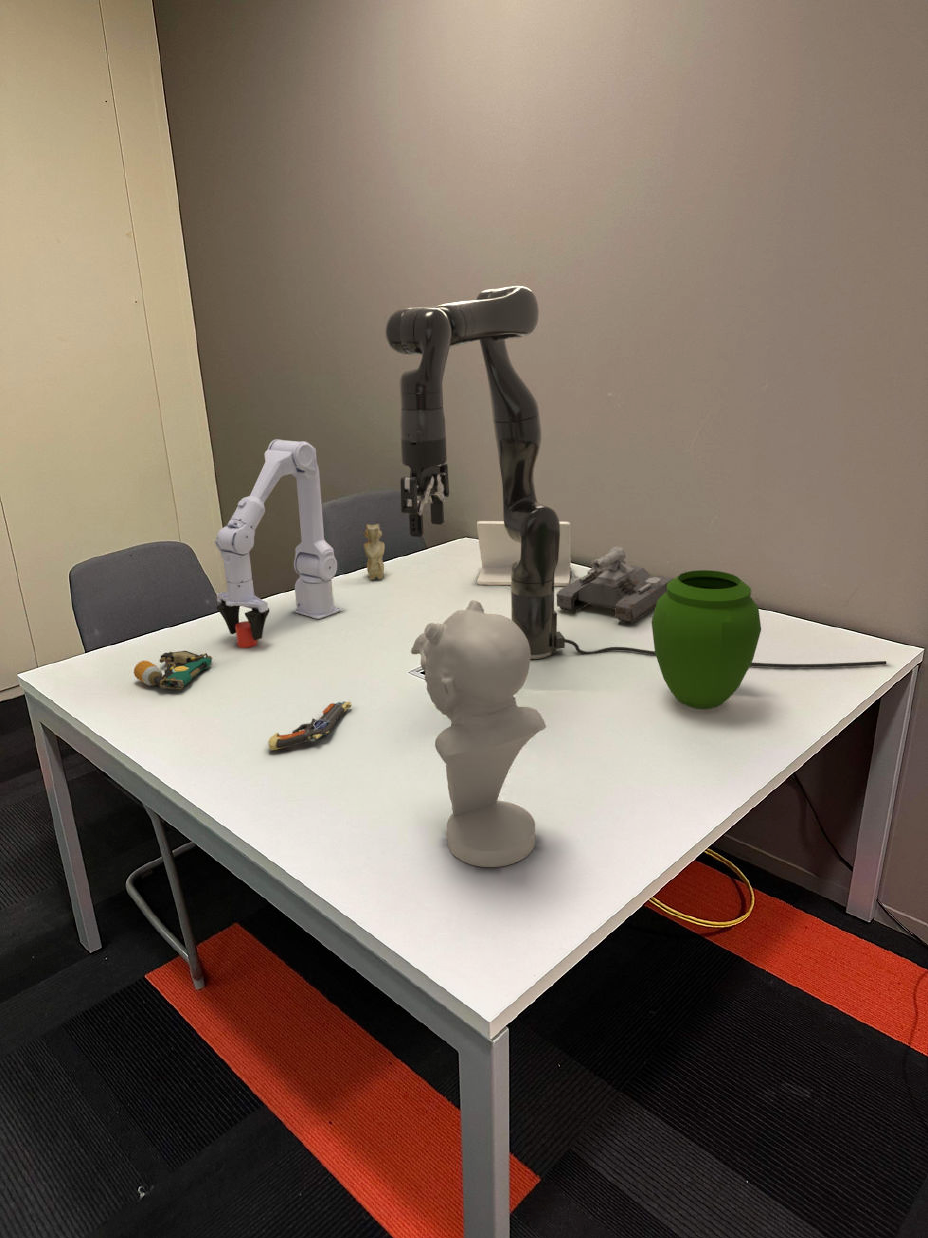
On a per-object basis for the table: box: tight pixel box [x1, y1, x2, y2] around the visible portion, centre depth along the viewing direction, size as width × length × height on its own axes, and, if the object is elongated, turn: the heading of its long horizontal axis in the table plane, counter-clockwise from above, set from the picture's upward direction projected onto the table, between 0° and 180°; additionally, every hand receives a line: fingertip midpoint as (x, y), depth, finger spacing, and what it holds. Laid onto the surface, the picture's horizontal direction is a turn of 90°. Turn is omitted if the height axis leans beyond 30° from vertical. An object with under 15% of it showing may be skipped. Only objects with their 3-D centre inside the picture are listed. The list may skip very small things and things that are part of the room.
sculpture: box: [363, 523, 386, 580], centre depth 238 cm, size 6×7×15 cm
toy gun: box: [267, 700, 353, 751], centre depth 156 cm, size 3×19×10 cm
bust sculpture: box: [410, 599, 547, 868], centre depth 121 cm, size 16×24×35 cm
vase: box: [651, 569, 762, 710], centre depth 158 cm, size 20×20×24 cm
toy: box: [556, 546, 675, 624], centre depth 212 cm, size 25×20×15 cm
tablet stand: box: [476, 520, 572, 587], centre depth 236 cm, size 18×25×17 cm
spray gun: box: [133, 650, 213, 690], centre depth 180 cm, size 4×17×15 cm
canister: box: [235, 620, 258, 649], centre depth 196 cm, size 4×4×5 cm
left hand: (246, 635), depth 196 cm, fingers open, 7 cm apart
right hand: (427, 529), depth 148 cm, fingers open, 8 cm apart
